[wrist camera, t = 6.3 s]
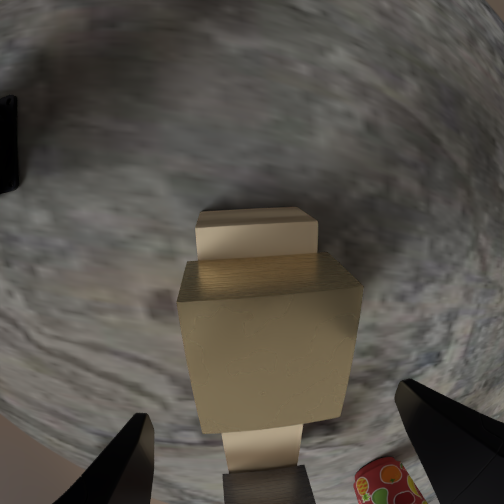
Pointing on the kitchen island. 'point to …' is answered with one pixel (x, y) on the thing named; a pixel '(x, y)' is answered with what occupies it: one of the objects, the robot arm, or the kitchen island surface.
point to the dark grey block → (269, 487)
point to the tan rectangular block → (268, 339)
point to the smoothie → (386, 484)
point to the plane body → (257, 245)
